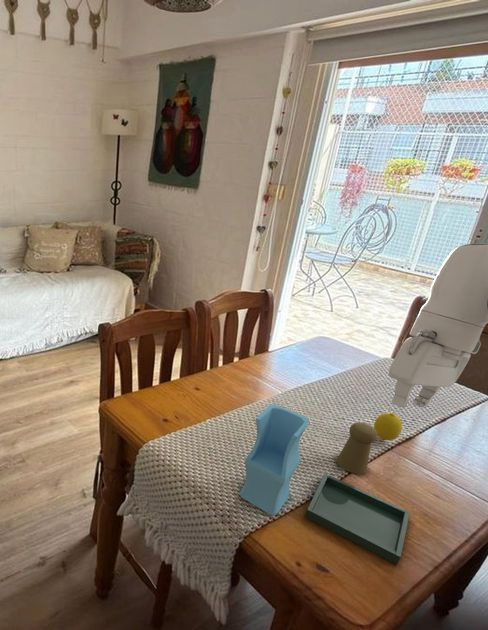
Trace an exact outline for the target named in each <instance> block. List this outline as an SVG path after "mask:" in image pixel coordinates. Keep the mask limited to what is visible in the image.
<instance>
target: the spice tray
mask: <svg viewBox="0 0 488 630" xmlns="http://www.w3.org/2000/svg"><path fill="white" fill-rule="evenodd" d="M410 514H411V512H410V511H408V510H406V509H404V508H402V507H399V506H397V505H395V504H393V503H390V502H388V501H386V500H384V499H382V498H380V497H377V496H375V495H373V494H371V493H368V492H367V491H365V490H362V489H360V488H358V487H356V486H353V485H351V484H349V483H347V482H344V481H342V480H340V479H338V478H335V477H334V476H332V475H329V474H327V473H324V474H323V476H322V477H321V480H320V483H319V484H318V486H317V487H316V490H315V492H314V494H313V496H312V499H311V500H310V502H309V505H308V507H307V508H306V512H305V515H304V517H305V518H306V519H308V520H310V521H312V522H314V523H316V524H318V525H320V526H322V527H324V528H326V529H327V530H330V531H331V532H333V533H335V534H337V535H339V536H341V537H343V538H345V539H346V540H349V542H352V543H354V544H355V545H359V546H360V547H362V548H364V549H366V550H368V551H370V552H372V553H373V554H375V555H378V556H379V557H381V558H383V559H385V560H387V561H389V562H391V563H393V564H395V565H398V564H399V562H400V560H401V558H402V553H403V548H404V544H405V538H406V534H407V529H408V524H409V519H410Z"/></svg>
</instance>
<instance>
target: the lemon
mask: <svg viewBox="0 0 488 630" xmlns="http://www.w3.org/2000/svg"><path fill="white" fill-rule="evenodd" d="M373 428H374V429H375V430H376V432H377V437H378V438H380V439H381V441H393V440H395V439H397V438H399V437H400V434H401V433H402V430H403V422H402V420H401V418H400V417H399V416H397V415H396V414H395V413H394V412H384V413H382V414H381V413H380V415H378V417H377V418H376V419H375V421H374V424H373Z"/></svg>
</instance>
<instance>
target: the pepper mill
mask: <svg viewBox="0 0 488 630" xmlns="http://www.w3.org/2000/svg"><path fill="white" fill-rule="evenodd" d="M348 431H349V436H348V439H347V441H346V443H345V444H344V446H343V448H342V450H341V451H340V453H339V455H338V456H337V458H336V463H337V464H338V465H339V467H341V468H342V470H343V469H344V471H347V472H349V473H352V474H356V475H364V474H365V473H366V472H367V470H368V464H369V459H370V452H371V447H372V443H374V442H375V441H376V440H377V438H378V435H377V432H376V430H375V429H374V426H372V425H370V424H368V423H365V422H361V421H356V422H354V423H352V424H351V426H350V427H349V430H348Z"/></svg>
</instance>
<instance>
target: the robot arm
mask: <svg viewBox="0 0 488 630" xmlns="http://www.w3.org/2000/svg"><path fill="white" fill-rule="evenodd" d="M487 324H488V243H480V242H479V243H478V242H476V243H467V244H466V243H465V244H463V245H460V246H457V247H456V248H454V249H453V250H451V252H450V253H449V254H448V255H447V257H446V258H445V260H444V261H443V263H442V265H441V266H440V268H439V270H438V272H437V273H436V276H435V277H434V279H433V282H432V284H431V286H430V292H429V296H428V299H427V301H426V302H425V303H424V304H423V305H422V306H421V308H420V310H419V312H418V314H417V316H416V318H415V320H414V323H413V324H412V327H411V329H410V331H409V336H411V337H408V338H406V339H405V340H404V342H403V343H402V345H400V348H399V349H398V351H397V353H396V354H395V357H394V359H393V360H392V362H391V364H390V367H389V369H388V377H390V378H391V379H394V380H396V383H395V389H394V395H393V398H392V399H391V404H392V405H394V406H396V407H399V408H406V407H407V405H408V403H409V402H410V394H411V391H413V390H414V388H415V386H421V387H422V388H421V389H420V391H419V392H418V394H416V396H415V397H414V399H413V402H412V403H413V405H415V406H417V407H419V408H427V407H428V405H429V403H430V402H431V400H432V399H433V398H434V397H435V396H436V394H438V392H439V390H440V388H451V387H452V386H453V385H454V384H456V382H457V381H458V379H459V378H460V376H461V374H462V373H463V371H464V370H465V368H466V366H467V364H468V362H469V361H470V358H471V354H473V355H476V354H477V353H478V352H479V350H480V348H481V345H482V343H481V340H480V338H481V335H482V333H483V330H484V329H485V326H486V325H487Z"/></svg>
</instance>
